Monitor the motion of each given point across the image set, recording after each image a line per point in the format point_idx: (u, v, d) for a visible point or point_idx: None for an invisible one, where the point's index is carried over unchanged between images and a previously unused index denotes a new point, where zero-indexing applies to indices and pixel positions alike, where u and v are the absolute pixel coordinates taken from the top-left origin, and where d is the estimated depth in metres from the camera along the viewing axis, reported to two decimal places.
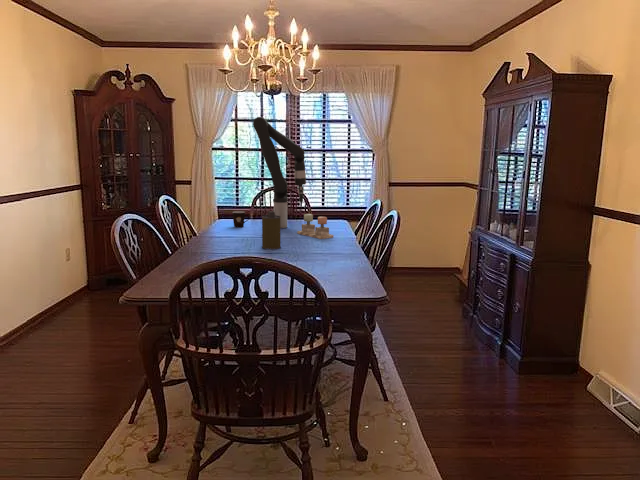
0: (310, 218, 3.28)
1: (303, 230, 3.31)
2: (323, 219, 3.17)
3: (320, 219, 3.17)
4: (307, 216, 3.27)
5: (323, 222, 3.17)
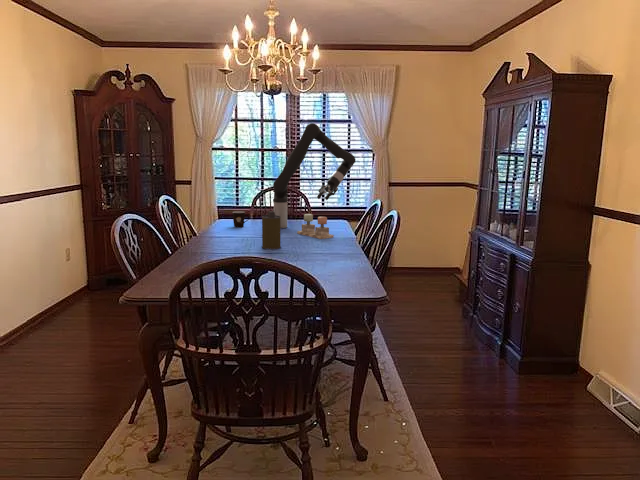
0: (310, 218, 3.28)
1: (303, 230, 3.31)
2: (323, 219, 3.17)
3: (320, 219, 3.17)
4: (307, 216, 3.27)
5: (323, 222, 3.17)
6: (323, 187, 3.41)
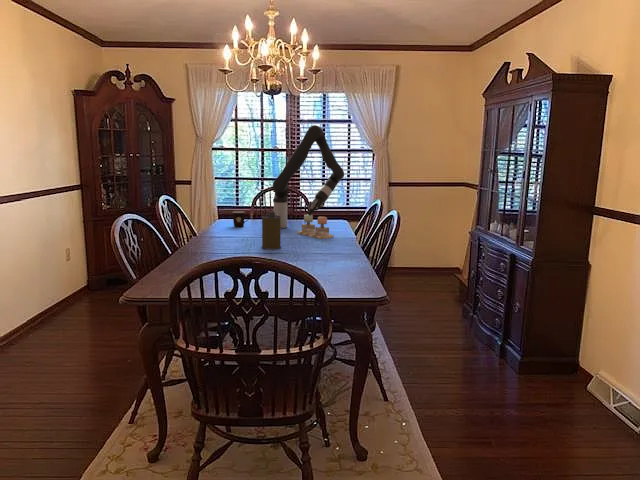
0: (310, 219, 3.28)
1: (303, 230, 3.31)
2: (323, 219, 3.17)
3: (320, 219, 3.17)
4: (307, 217, 3.27)
5: (323, 222, 3.17)
6: (311, 203, 3.35)
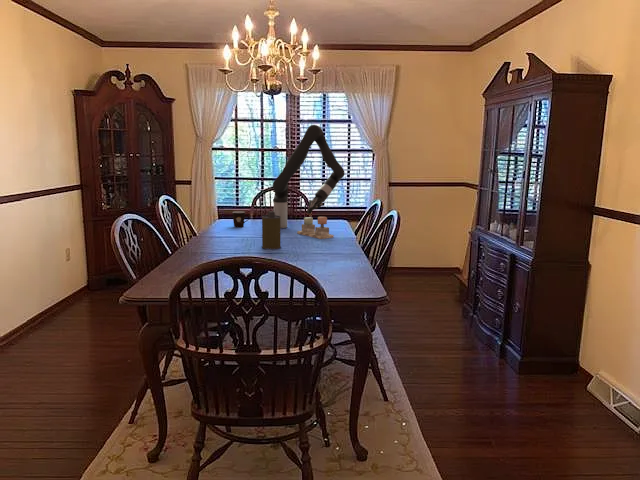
0: (310, 221, 3.28)
1: (303, 230, 3.31)
2: (323, 219, 3.17)
3: (320, 219, 3.17)
4: (307, 219, 3.28)
5: (323, 222, 3.17)
6: (311, 201, 3.35)
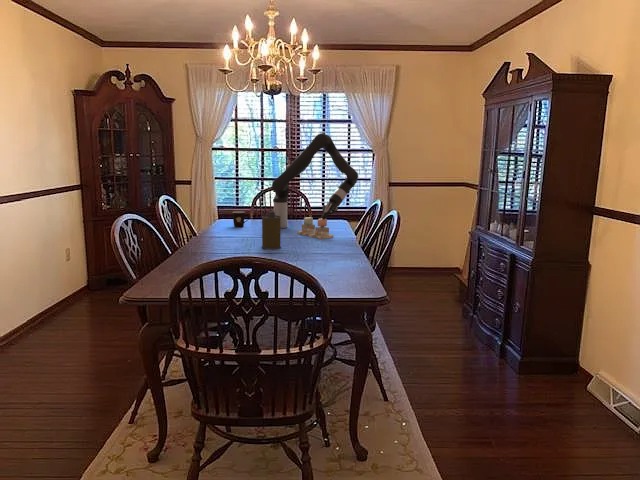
0: (310, 221, 3.28)
1: (303, 230, 3.31)
2: (323, 221, 3.17)
3: (320, 221, 3.17)
4: (307, 219, 3.28)
5: (323, 224, 3.17)
6: (325, 206, 3.25)
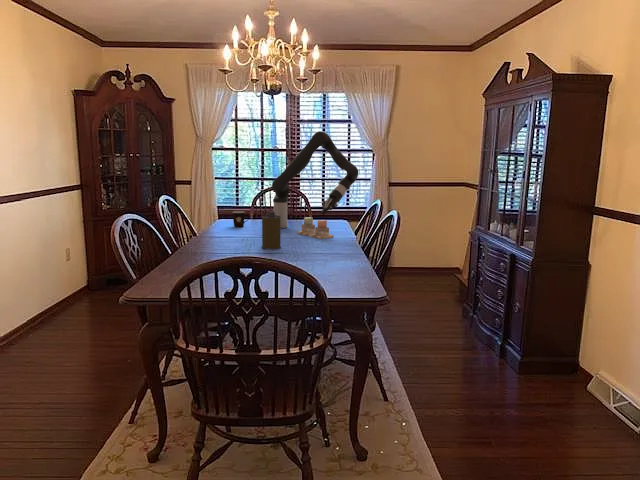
0: (310, 221, 3.28)
1: (303, 230, 3.31)
2: (323, 222, 3.17)
3: (320, 222, 3.17)
4: (307, 219, 3.28)
5: (323, 225, 3.17)
6: (325, 202, 3.24)
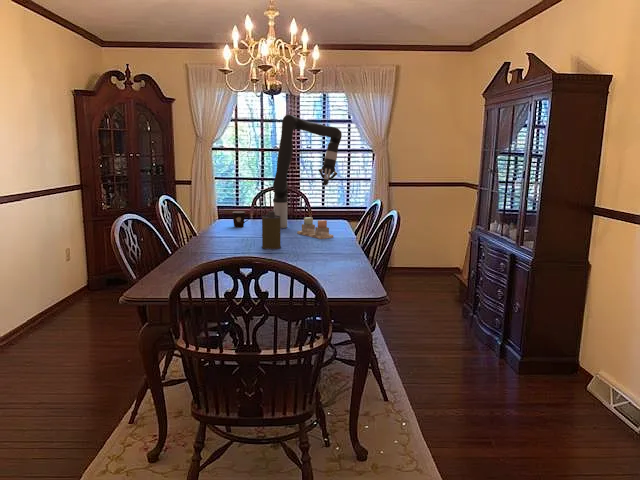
0: (310, 221, 3.28)
1: (303, 230, 3.31)
2: (323, 222, 3.17)
3: (320, 222, 3.17)
4: (307, 219, 3.28)
5: (323, 225, 3.17)
6: (321, 171, 3.38)
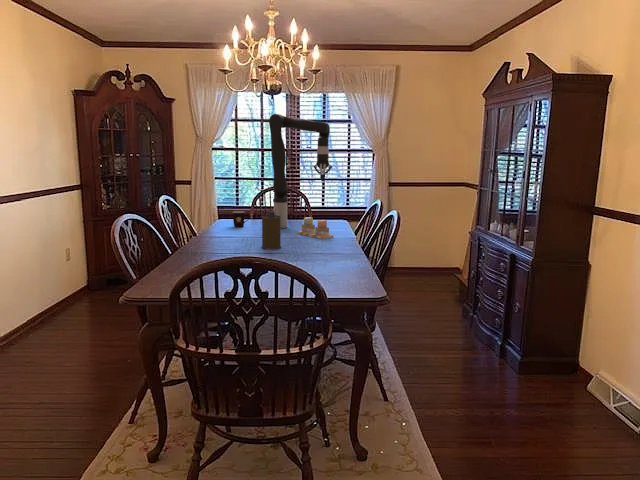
0: (310, 221, 3.28)
1: (303, 230, 3.31)
2: (323, 222, 3.17)
3: (320, 222, 3.17)
4: (307, 219, 3.28)
5: (323, 225, 3.17)
6: (316, 167, 3.41)
